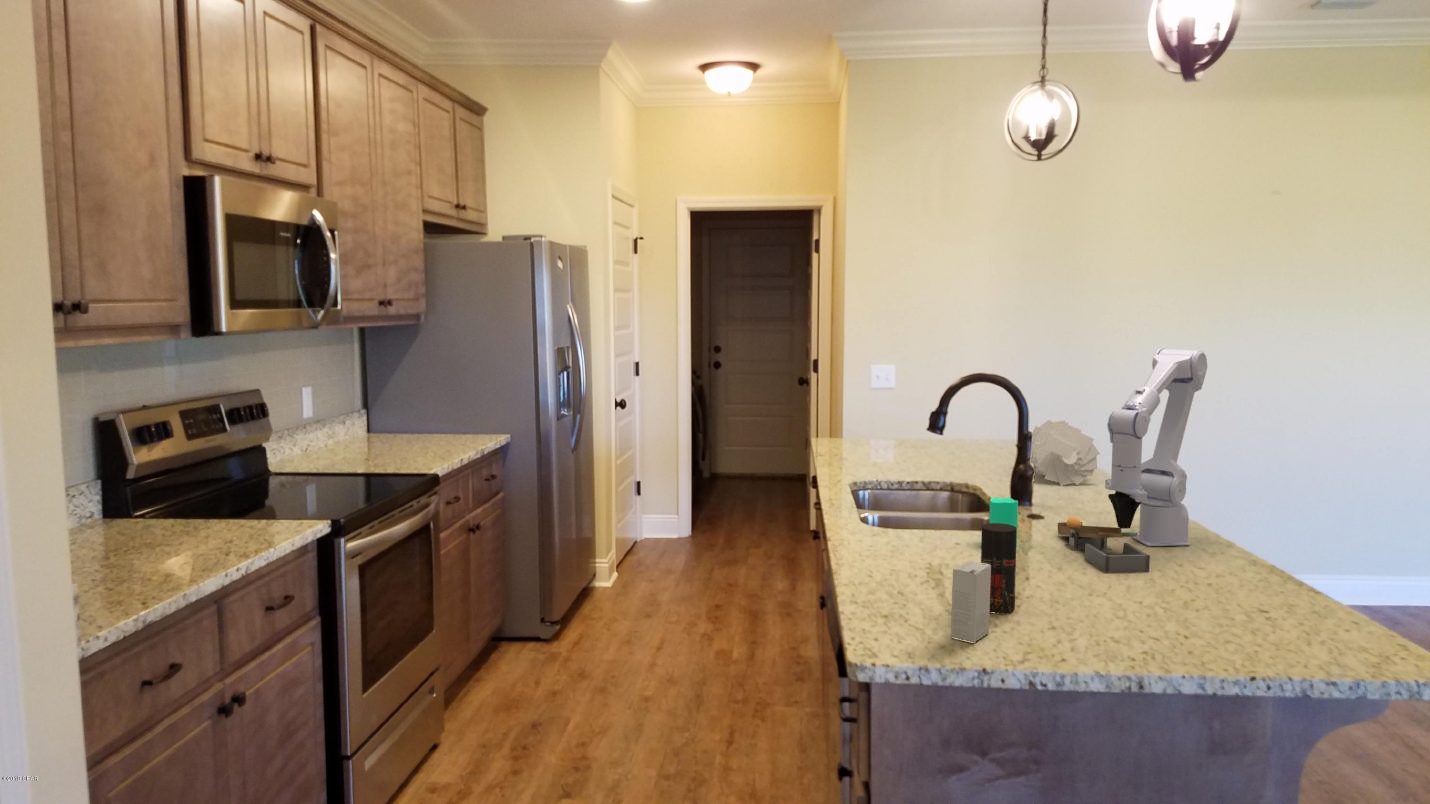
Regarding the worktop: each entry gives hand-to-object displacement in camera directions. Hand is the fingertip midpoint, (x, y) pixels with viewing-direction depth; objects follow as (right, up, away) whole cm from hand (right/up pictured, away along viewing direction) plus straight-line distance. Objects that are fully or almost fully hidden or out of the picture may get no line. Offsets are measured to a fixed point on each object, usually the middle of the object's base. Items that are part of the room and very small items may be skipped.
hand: (1124, 527), depth 193 cm
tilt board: (-3, -3, +6) cm, 7 cm away
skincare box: (-46, -12, -44) cm, 65 cm away
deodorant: (-37, -10, -31) cm, 49 cm away
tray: (-5, -7, -7) cm, 11 cm away
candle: (-23, -6, +9) cm, 25 cm away
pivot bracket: (-5, -5, +7) cm, 10 cm away
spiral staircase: (+16, +3, +79) cm, 81 cm away
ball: (-5, -1, +14) cm, 15 cm away
